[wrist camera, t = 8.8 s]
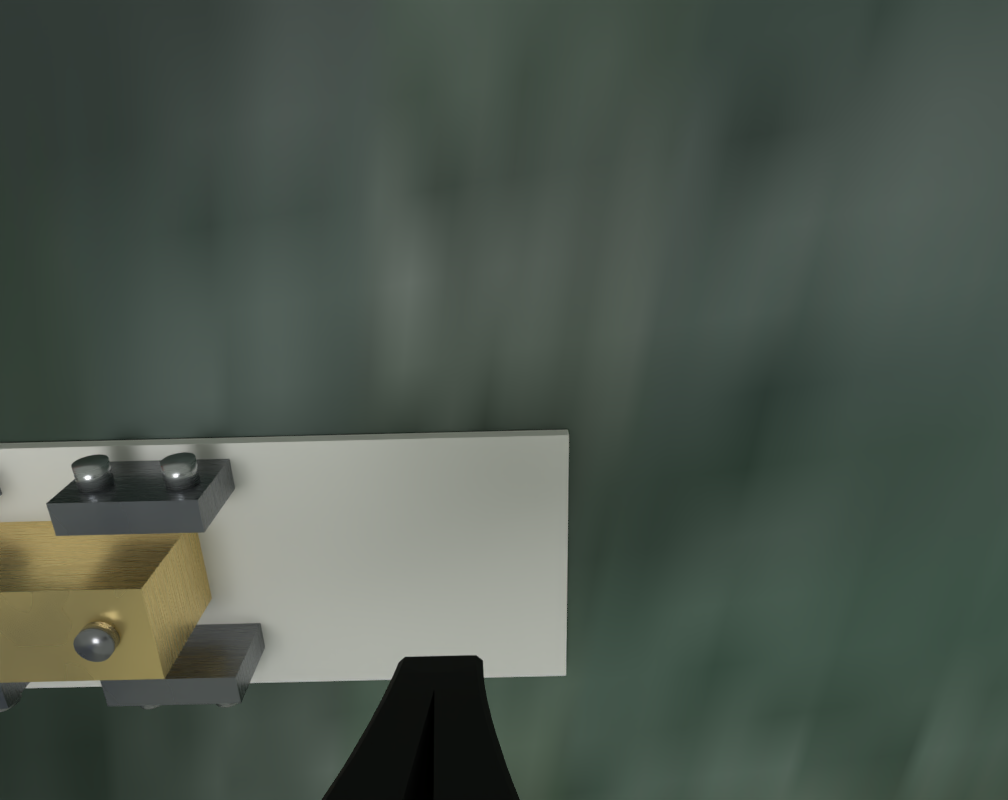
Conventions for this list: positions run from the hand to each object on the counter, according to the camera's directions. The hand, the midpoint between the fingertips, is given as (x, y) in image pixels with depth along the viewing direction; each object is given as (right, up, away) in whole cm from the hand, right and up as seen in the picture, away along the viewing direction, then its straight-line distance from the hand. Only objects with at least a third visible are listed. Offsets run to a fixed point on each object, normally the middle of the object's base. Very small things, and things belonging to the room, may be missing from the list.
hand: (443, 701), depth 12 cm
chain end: (-9, 0, +10) cm, 14 cm away
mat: (-8, 0, +11) cm, 14 cm away
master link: (-12, 0, +10) cm, 16 cm away
